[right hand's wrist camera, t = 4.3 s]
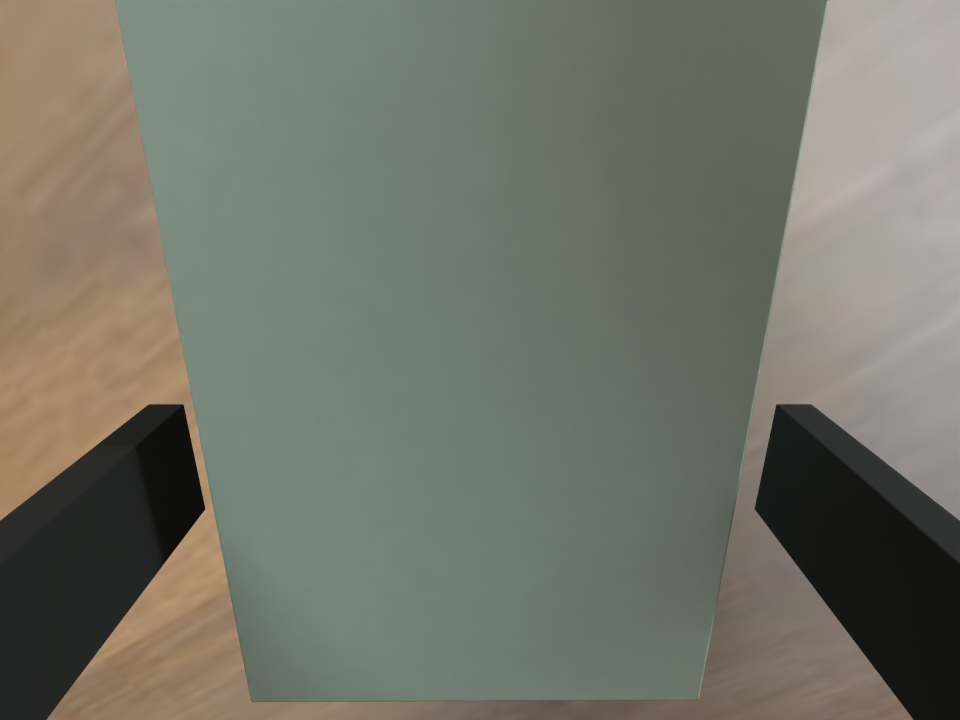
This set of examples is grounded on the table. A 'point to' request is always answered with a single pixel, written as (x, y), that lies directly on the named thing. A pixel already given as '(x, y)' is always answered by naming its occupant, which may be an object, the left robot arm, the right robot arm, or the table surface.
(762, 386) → the table surface
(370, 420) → the sage green box
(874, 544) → the right robot arm
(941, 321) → the table surface
